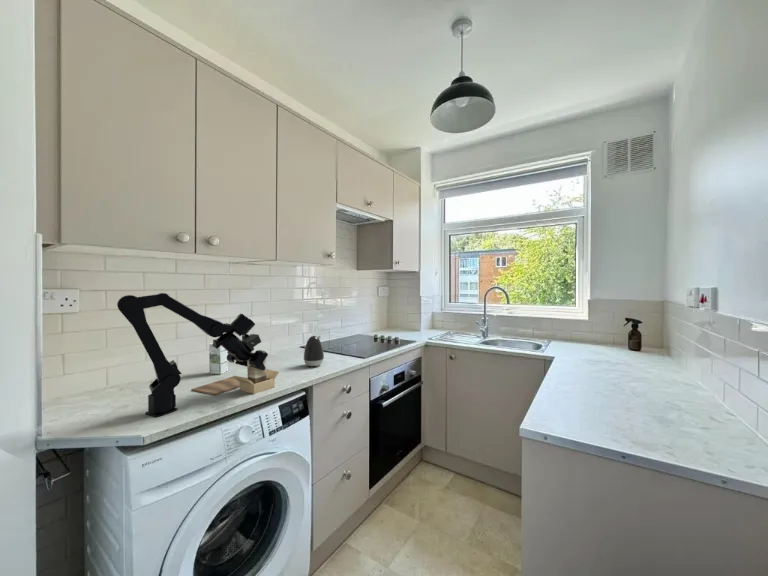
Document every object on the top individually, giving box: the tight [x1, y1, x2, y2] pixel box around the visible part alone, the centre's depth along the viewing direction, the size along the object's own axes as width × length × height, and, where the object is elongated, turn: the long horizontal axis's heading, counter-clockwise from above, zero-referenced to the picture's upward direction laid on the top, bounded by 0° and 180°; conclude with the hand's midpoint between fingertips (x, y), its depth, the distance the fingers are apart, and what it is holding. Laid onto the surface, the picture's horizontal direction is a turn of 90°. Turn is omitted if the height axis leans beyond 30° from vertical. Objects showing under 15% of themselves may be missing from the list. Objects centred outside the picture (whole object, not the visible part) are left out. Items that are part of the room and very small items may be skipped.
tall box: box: [246, 351, 267, 384], centre depth 125 cm, size 5×5×14 cm
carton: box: [234, 368, 280, 395], centre depth 125 cm, size 14×9×6 cm, turn 147°
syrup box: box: [208, 341, 229, 375], centre depth 149 cm, size 6×6×14 cm
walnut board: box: [190, 375, 248, 396], centre depth 129 cm, size 20×14×1 cm
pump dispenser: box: [303, 335, 325, 367], centre depth 161 cm, size 10×10×15 cm
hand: (260, 368), depth 126 cm, fingers closed on tall box, 5 cm apart
